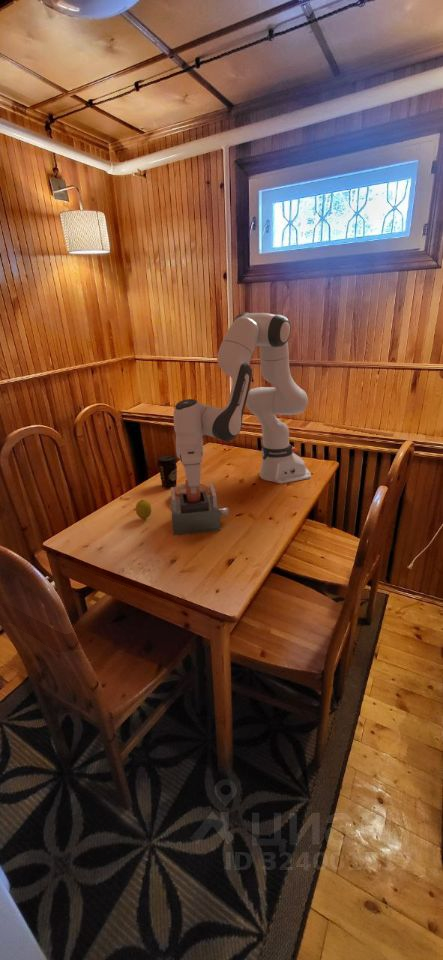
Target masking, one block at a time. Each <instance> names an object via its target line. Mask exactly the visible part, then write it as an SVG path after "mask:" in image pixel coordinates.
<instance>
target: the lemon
mask: <svg viewBox="0 0 443 960" xmlns="http://www.w3.org/2000/svg"><path fill="white" fill-rule="evenodd" d="M135 513H136V515H137V516H138V518H140V519H143V520H146V519H148V518H149V517H150V516H151V514H152V506H151V504H150V502H149V501H148V500H146V499H143V498H142V499H141V500H139V501H138V502H137V503H136V505H135Z"/></svg>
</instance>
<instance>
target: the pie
mask: <svg viewBox="0 0 443 960" xmlns="http://www.w3.org/2000/svg"><path fill="white" fill-rule="evenodd" d="M180 485H186V482H185V483H182V484H180ZM180 485H176V486H175V487H174V490H175V499H177V498H180V497H179V493H186V489H178V486H180ZM200 491H206V495H210V489H209V487H208V486H207V485H205V484H202V483H200Z"/></svg>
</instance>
